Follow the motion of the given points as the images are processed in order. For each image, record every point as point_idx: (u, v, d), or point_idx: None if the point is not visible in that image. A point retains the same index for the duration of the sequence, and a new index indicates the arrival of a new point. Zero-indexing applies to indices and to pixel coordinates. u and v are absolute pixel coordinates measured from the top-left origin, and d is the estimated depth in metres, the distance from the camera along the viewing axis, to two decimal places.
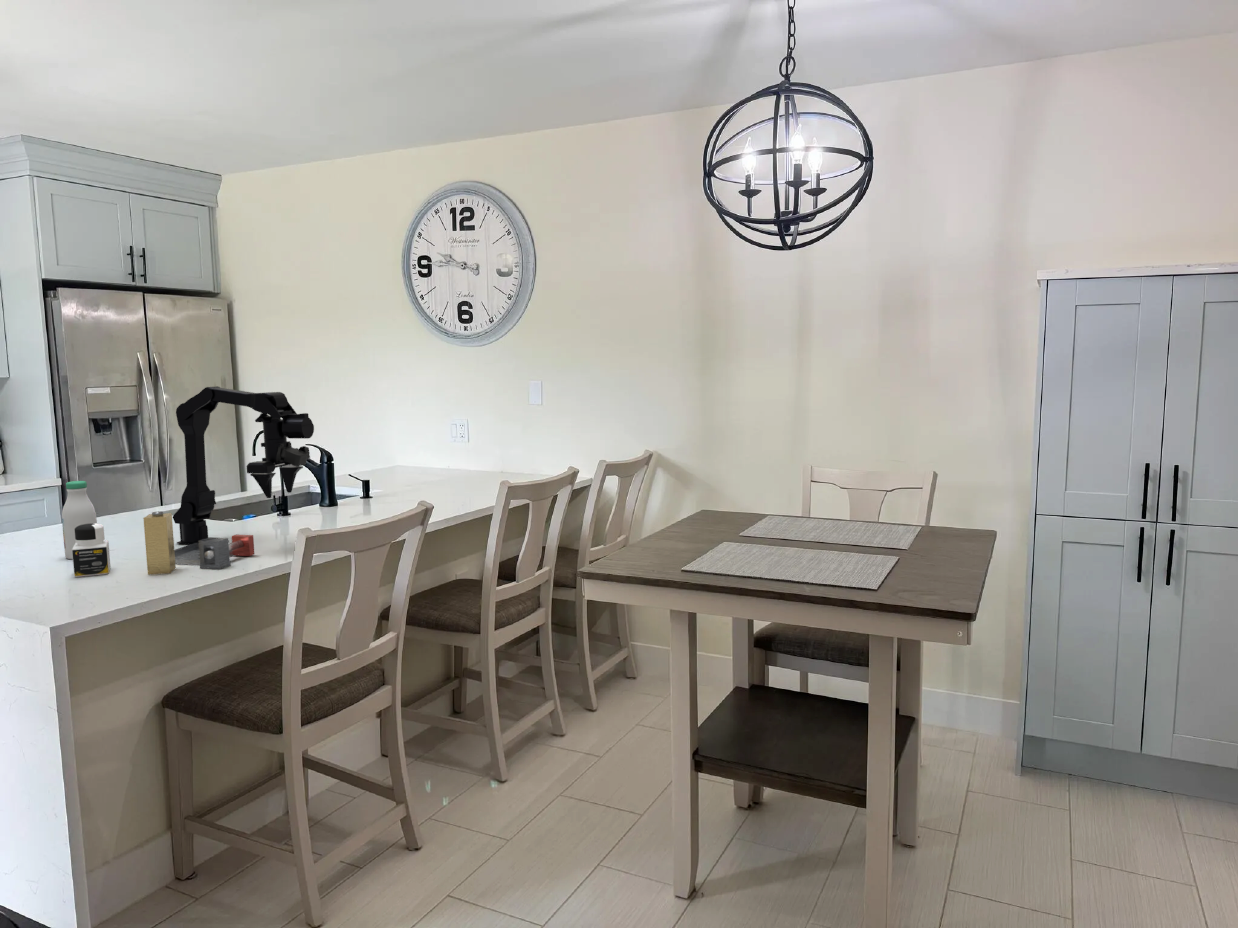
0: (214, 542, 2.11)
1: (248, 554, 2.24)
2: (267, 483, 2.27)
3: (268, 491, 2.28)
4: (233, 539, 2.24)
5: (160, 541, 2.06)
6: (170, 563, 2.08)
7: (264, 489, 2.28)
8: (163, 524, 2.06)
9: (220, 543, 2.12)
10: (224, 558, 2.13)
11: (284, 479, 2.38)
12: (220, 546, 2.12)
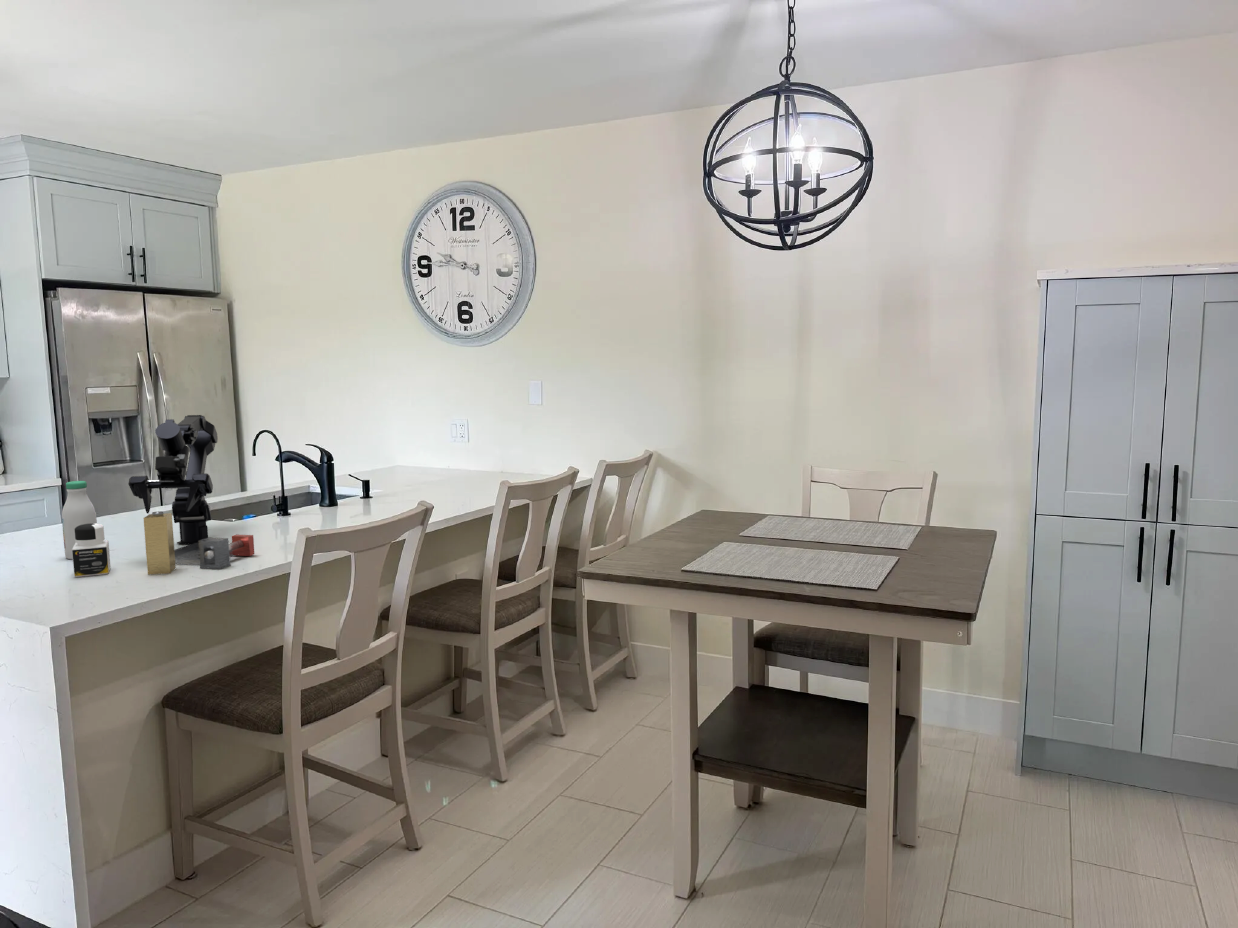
0: (214, 542, 2.11)
1: (248, 554, 2.24)
2: None
3: None
4: (233, 539, 2.24)
5: (160, 541, 2.06)
6: (170, 563, 2.08)
7: None
8: (163, 524, 2.06)
9: (220, 543, 2.12)
10: (224, 558, 2.13)
11: None
12: (220, 546, 2.12)
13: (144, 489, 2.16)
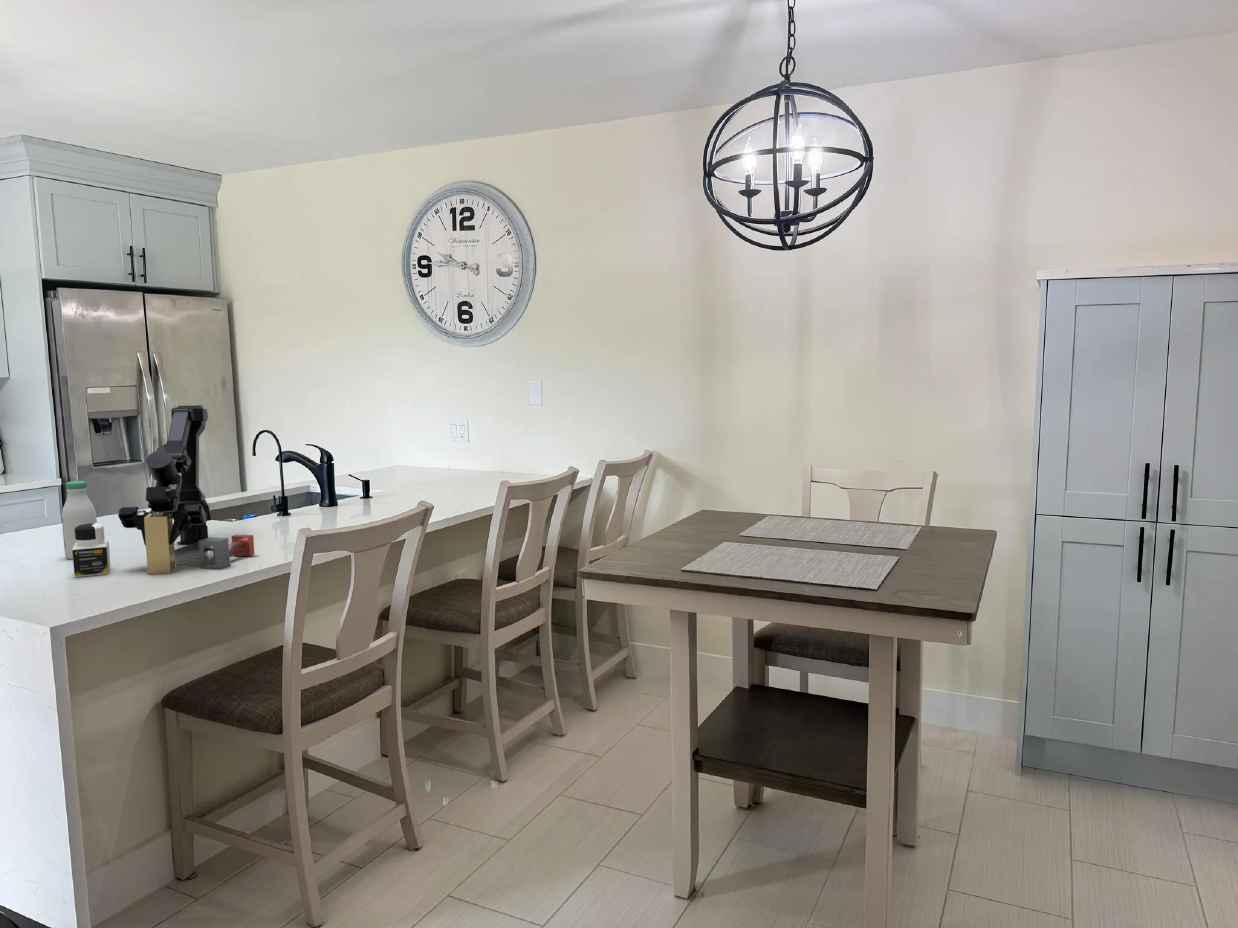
0: (214, 542, 2.11)
1: (248, 554, 2.24)
2: None
3: None
4: (233, 539, 2.24)
5: (160, 541, 2.06)
6: (170, 563, 2.08)
7: None
8: (164, 524, 2.06)
9: (220, 543, 2.12)
10: (224, 558, 2.13)
11: None
12: (220, 546, 2.12)
13: (142, 520, 2.08)
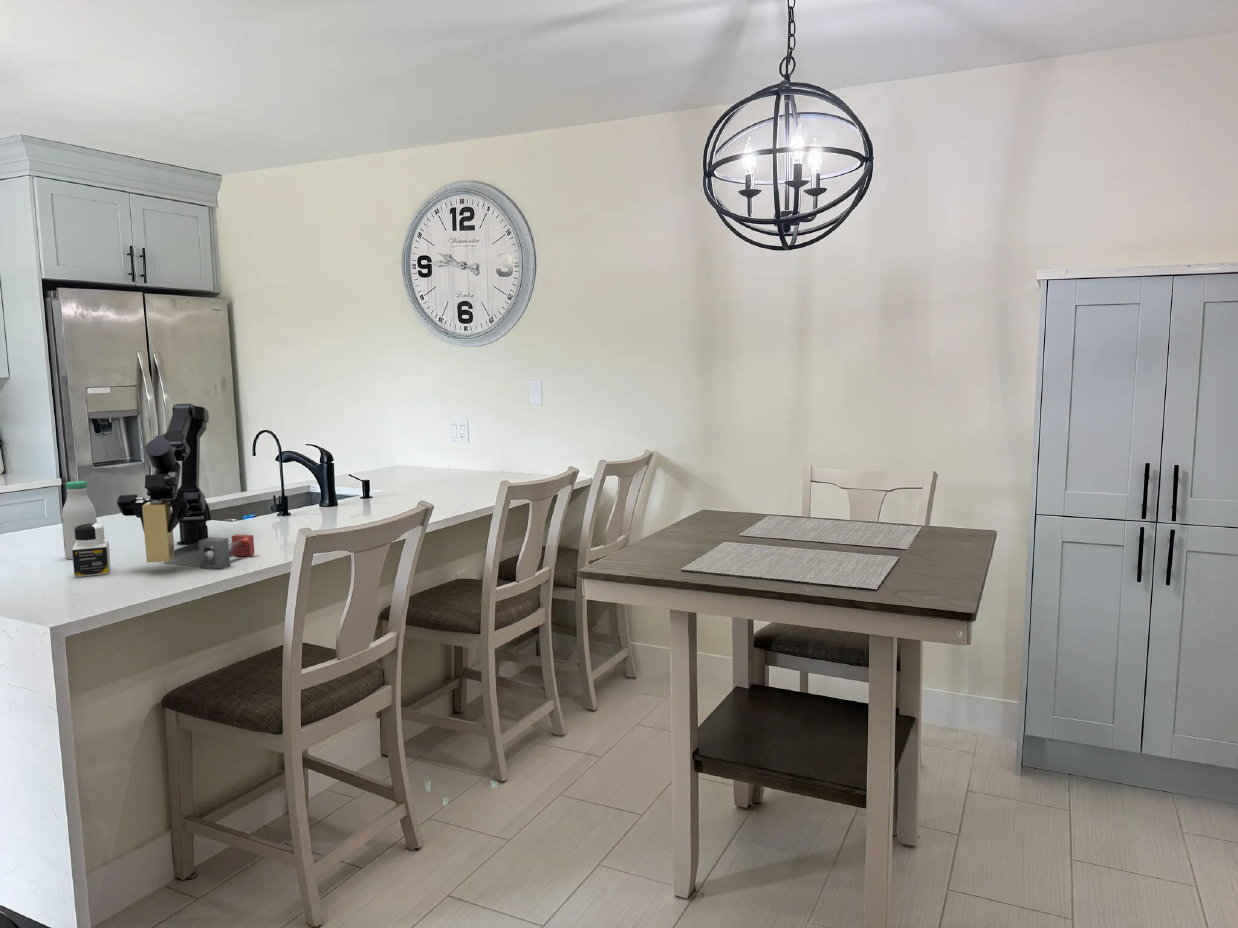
0: (214, 542, 2.11)
1: (248, 554, 2.24)
2: None
3: (142, 525, 2.07)
4: (233, 539, 2.24)
5: (159, 529, 2.06)
6: (169, 551, 2.08)
7: None
8: (162, 512, 2.05)
9: (220, 543, 2.12)
10: (224, 558, 2.13)
11: None
12: (220, 546, 2.12)
13: None
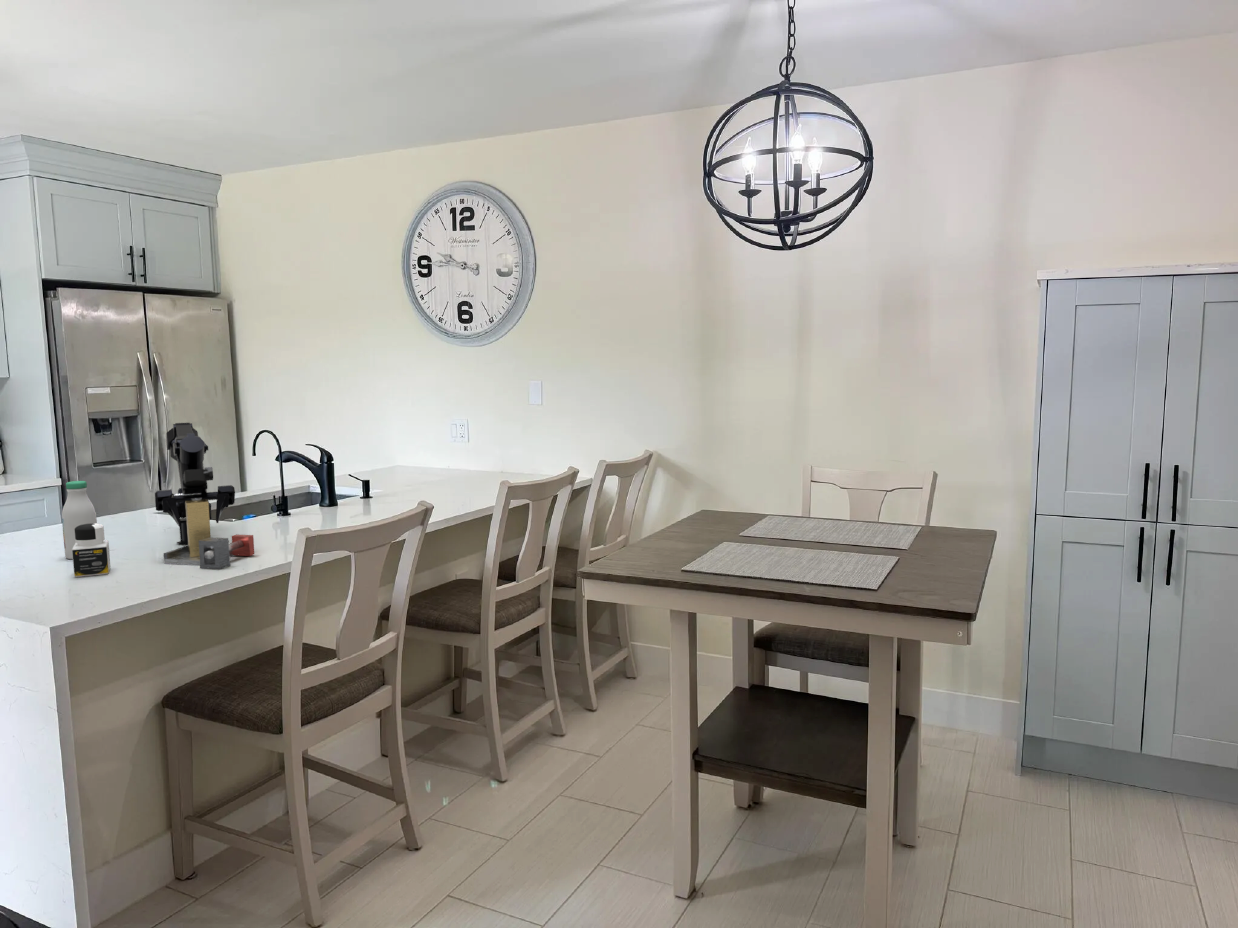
0: (214, 542, 2.11)
1: (248, 554, 2.24)
2: None
3: (175, 518, 2.18)
4: (233, 539, 2.24)
5: (202, 525, 2.19)
6: None
7: (175, 519, 2.19)
8: (205, 509, 2.19)
9: (220, 543, 2.12)
10: (224, 558, 2.13)
11: None
12: (220, 546, 2.12)
13: (173, 503, 2.19)
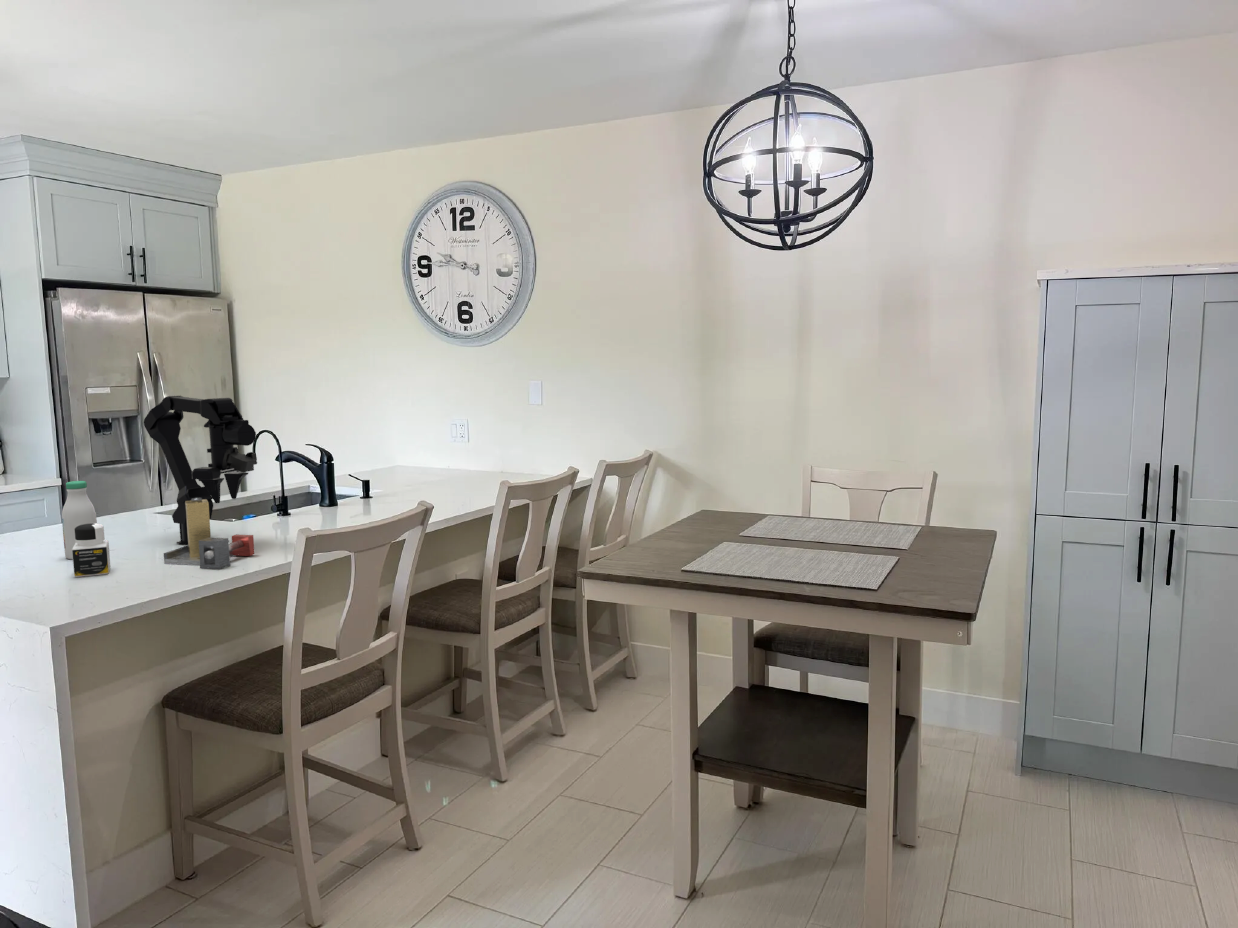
0: (214, 542, 2.11)
1: (248, 554, 2.24)
2: (215, 488, 2.28)
3: (216, 496, 2.29)
4: (233, 539, 2.24)
5: (202, 525, 2.19)
6: None
7: (212, 494, 2.29)
8: (205, 509, 2.19)
9: (220, 543, 2.12)
10: (224, 558, 2.13)
11: (229, 485, 2.36)
12: (220, 546, 2.12)
13: (220, 482, 2.28)
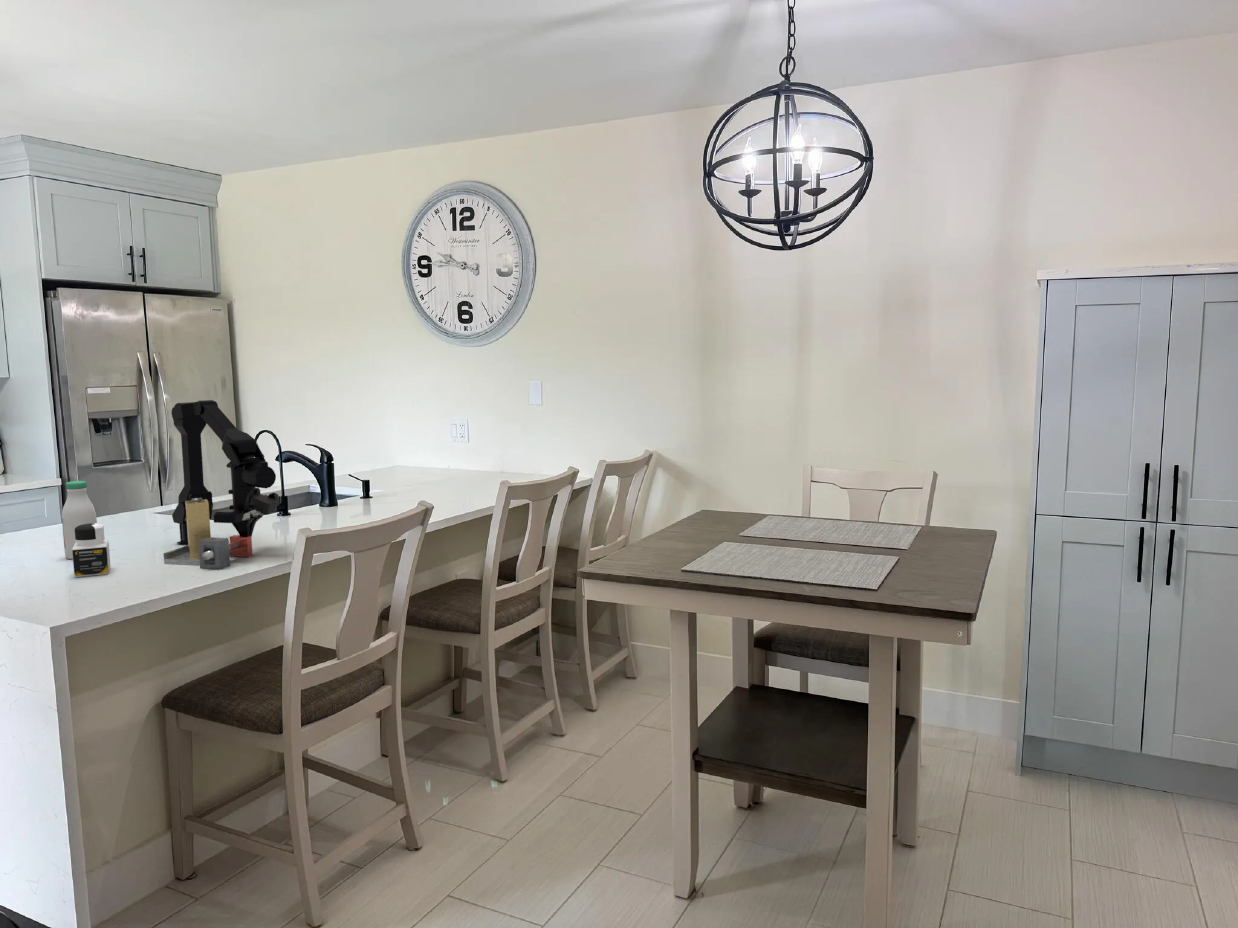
0: (214, 542, 2.11)
1: (246, 555, 2.23)
2: (245, 529, 2.24)
3: None
4: (231, 540, 2.23)
5: (202, 525, 2.19)
6: None
7: (241, 534, 2.25)
8: (205, 509, 2.19)
9: (220, 543, 2.12)
10: (224, 558, 2.13)
11: None
12: (220, 546, 2.12)
13: (250, 522, 2.24)
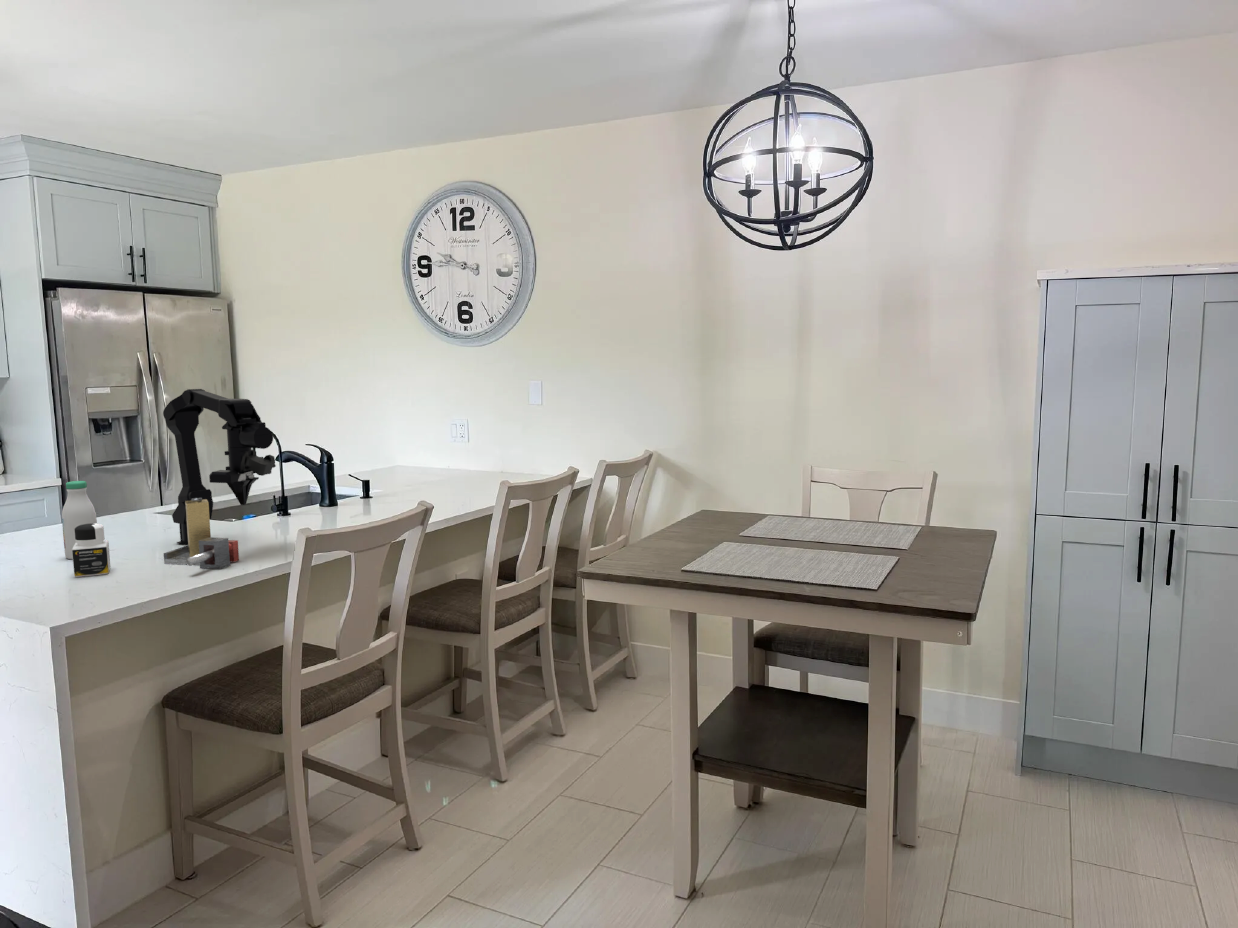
0: (214, 542, 2.11)
1: (232, 560, 2.17)
2: (241, 490, 2.26)
3: (242, 498, 2.27)
4: None
5: (202, 525, 2.19)
6: None
7: (237, 496, 2.26)
8: (205, 509, 2.19)
9: (220, 543, 2.12)
10: (224, 558, 2.13)
11: None
12: (220, 546, 2.12)
13: (246, 484, 2.26)
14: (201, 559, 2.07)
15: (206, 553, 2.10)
